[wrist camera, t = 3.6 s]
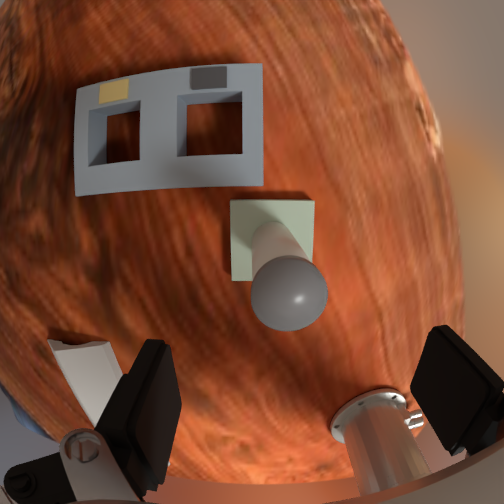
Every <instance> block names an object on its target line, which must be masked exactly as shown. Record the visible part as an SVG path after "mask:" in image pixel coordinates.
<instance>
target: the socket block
mask: <svg viewBox="0 0 504 504" xmlns="http://www.w3.org/2000/svg"><path fill="white" fill-rule="evenodd" d="M222 102H242V134H243V154H226V155H200V156H187V105H190V104H203V103H222ZM139 110H140V160H136V161H127V162H119V163H111V164H107V151H106V143H107V116H110V115H116V114H121V113H127V112H133V111H139ZM74 175H75V195H76V196H84V195H93V194H103V193H114V192H125V191H138V190H152V189H169V188H190V187H220V186H263V77H262V64H219V65H204V66H193V67H183V68H175V69H167V70H160V71H154V72H148V73H142V74H136V75H131V76H126V77H122V78H117V79H113V80H108V81H104V82H100V83H96V84H93V85H89V86H85V87H82V88H79V89H77V95H76V107H75V126H74Z"/></svg>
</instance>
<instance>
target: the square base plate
mask: <svg viewBox="0 0 504 504" xmlns="http://www.w3.org/2000/svg"><path fill="white" fill-rule="evenodd" d="M271 221H274V222H279V223H282V224H283V225H285V226H286V227H287V228H288V229H289V230H290V232H291V233H292V235H293V236H294V237H295V239H296V240H297V242H298V243H299V245H300V246H301V248H302V249H303V251H304V252H305V254H306V255H307V257H308V258H309V260H310V261H311V263H312V252H313V230H314V201H313V200H299V199H231V200H230V230H231V269H232V281H252V236H253V233H254V232H255V230H256V229H257V228H258V227H259V226H260V225H262V224H263V223H266V222H271Z"/></svg>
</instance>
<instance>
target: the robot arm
mask: <svg viewBox="0 0 504 504" xmlns="http://www.w3.org/2000/svg"><path fill="white" fill-rule="evenodd" d="M503 388H504V381H503V380H502V379H501V378H500V377H499V376H498V375H497V374H496V373H495V372H494V371H493V369H491V368H490V367H489V365H488V364H487V363H486V362H485V361H484V360H483V359H482V358H481V357H480V356H479V355H478V354H477V353H476V352H475V351H474V350H473V349H472V348H471V347H470V346H469V345H468V344H467V343H466V342H465V341H464V340H463V339H462V338H461V337H460V336H458V335H457V334H456V333H455V332H454V331H453V330H452V329H451V328H450V327H449V326H448V325H441V326H435V327H433V328H432V330H431V331H430V332H429V333H428V336H427V339H426V342H425V346H424V349H423V352H422V355H421V358H420V360H419V363H418V366H417V369H416V371H415V374H414V377H413V379H412V382H411V385H410V390H411V393H412V395H413V396H414V398H415V399H416V401H417V403H418V404H419V406H420V408H421V409H422V411H423V413H424V414H425V416H426V418H427V419H428V421H429V423H430V424H431V426H432V427H433V429H434V431H435V433H436V434H437V436H438V438H439V440H440V441H441V443H442V445H443V447H444V448H445V450H447V451H449V453H450V454H451V456H454V455H456V454H458V453H461V452H462V451H463V450H464V449H465V448H466V450H467V452H466V457H465V459H464V460H462V461H460V462H458V463H456V464H454V465H452V466H449V467H447V468H445V469H443V470H440V471H438V472H436V473H433V474H432V472H431V470H430V468H429V466H428V464H427V462H426V460H425V458H424V456H423V454H422V452H421V450H420V448H419V446H418V444H417V442H416V440H415V438H414V436H413V434H412V432H411V430H410V429H413V428H417V427H420V426H422V425H423V417H422V416H421V415H422V411H421V409H417V410H414V411H411V412H409V411H407V410H406V400H405V398H404V396H403V395H402V393H400V392H399V391H397V390H395V389H389V388H388V389H377V390H373V391H370V392H367V393H364V394H362V395H359V396H358V397H356V398H354V399H352V400H351V401H349V402H348V403H346V404H345V405H344V406H343V407H342V408H340V409H339V411H338V412H337V413H336V414H335V415H334V417H333V419H332V421H331V424H330V430H331V434H332V436H333V438H334V439H335V440H337V441H339V442H341V443H344V444H345V445H346V448H347V451H348V455H349V458H350V461H351V465H352V468H353V471H354V475H355V478H356V482H357V485H358V489H359V492H360V497H356V498H351V499H346V500H341V501H336V502H330V503H325V504H504V393H503V392H502V391H503ZM181 406H182V403H181V397H180V392H179V388H178V383H177V378H176V373H175V368H174V363H173V358H172V353H171V348H170V345H168V344H165V342H164V340H156V339H147V340H146V341H145V343H144V345H143V347H142V348H141V350H140V352H139V354H138V356H137V358H136V360H135V362H134V363H133V365H132V367H131V369H130V371H129V373H128V374H124V375H122V377H121V378H120V380H119V382H118V384H117V385H116V387H115V389H114V391H113V393H112V395H111V397H110V399H109V401H108V403H107V405H106V407H105V409H104V410H103V412H102V414H101V416H100V418H99V420H98V422H97V424H96V426H95V428H94V430H92V429H87V428H80V429H75V430H73V431H71V432H69V433H68V434H66V435H65V436H64V437H63V439H62V440H61V442H60V446H59V450H60V452H58V453H55V454H52V455H49V456H46V457H42V458H39V459H36V460H33V461H30V462H26V463H23V464H19V465H16V466H14V467H12V468H10V470H8V471H7V473H6V475H5V477H4V485H2V486H1V485H0V504H156V503H149V502H145V500H144V498H143V496H145V495H146V491H147V490H152V491H157V488H158V484H161V485H162V484H163V483H164V480H165V476H166V471H167V467H168V463H169V458H170V454H171V450H172V445H173V441H174V437H175V433H176V428H177V424H178V420H179V416H180V412H181Z"/></svg>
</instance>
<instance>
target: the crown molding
mask: <svg viewBox="0 0 504 504" xmlns="http://www.w3.org/2000/svg"><path fill="white" fill-rule="evenodd" d="M47 340H48V343H49V345H50V347H51V349H52V352H53V354H54V356H55V358H56V360H57V362H58V364H59V366H60V368H61V370H62V372H63V374H64V376H65V378H66V380H67V382H68V384H69V386H70V387H71V389H72V391H73V393H74V395H75V396H76V398H77V400H78V401H79V403H80V405H81V406H82V408H83V410H84V411H85V413H86V415H87V416H88V418H89V419H90V421H91V422H92V424H93V425H94V427H95V426H96V424H97V422H98V420H99V418H100V416H101V414H102V412H103V410H104V409H105V407H106V405H107V403H108V401H109V399H110V397H111V395H112V393H113V391H114V389H115V387H116V385H117V384H118V382H119V380H120V378H121V377H122V375H123V374H122V371H121V369H120V367H119V364H118V362H117V359H116V357H115V354H114V352H113V349H112V347H111V344H110V342H108V341H92V342H89V343H86V344H82V345H67V344H63V343H62V341H54V340H51V339H47ZM169 465H170V462H169V463H168V466H169Z"/></svg>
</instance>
